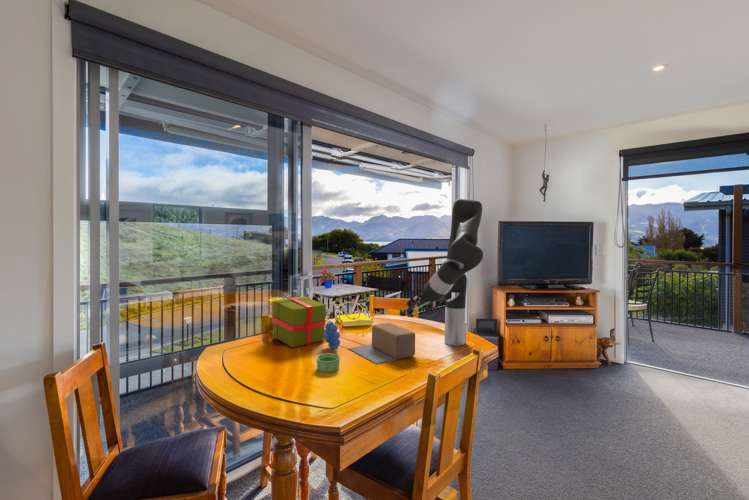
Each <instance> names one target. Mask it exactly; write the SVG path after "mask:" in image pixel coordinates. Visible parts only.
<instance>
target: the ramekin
mask: <svg viewBox="0 0 749 500" xmlns="http://www.w3.org/2000/svg"><path fill="white" fill-rule="evenodd" d="M315 359H316V369H317V370H318V371H320V372H322V373H333V372H336V371H337V370H339V368H340V359H341V357H340V355H339V354H336V353H322V354H318V355H317V356H316V357H315Z"/></svg>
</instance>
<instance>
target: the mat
mask: <svg viewBox="0 0 749 500" xmlns="http://www.w3.org/2000/svg"><path fill="white" fill-rule="evenodd" d="M348 350H350V351H351V352H353V353H355V354H357V355H359V356H361V357H362V358H365V359H366V360H367V361H369V362H372V363H374V364H375V365H379V364H384V363H385V364H386V363H389V362H392V361H393V360H394V361H397V359H395V358H393V357H391V356H390V355H388V354H386V353H384V352H382V351H380V350H378V349H377V348H375V347H373V346H372V343H371V344H365V345H359V346H354V347H349V348H348ZM411 357H412V356H409V357H408V358H411ZM401 359H402V358H399V359H398V360H401ZM403 359H407V358H406V357H404V358H403Z"/></svg>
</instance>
